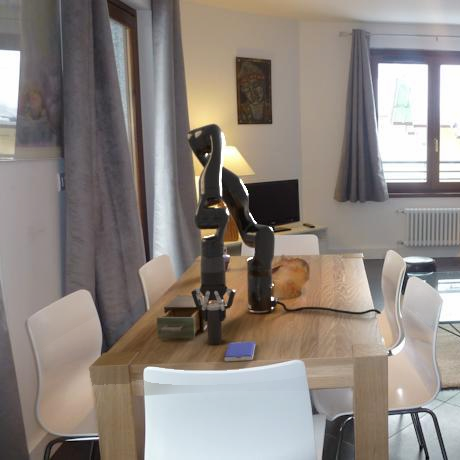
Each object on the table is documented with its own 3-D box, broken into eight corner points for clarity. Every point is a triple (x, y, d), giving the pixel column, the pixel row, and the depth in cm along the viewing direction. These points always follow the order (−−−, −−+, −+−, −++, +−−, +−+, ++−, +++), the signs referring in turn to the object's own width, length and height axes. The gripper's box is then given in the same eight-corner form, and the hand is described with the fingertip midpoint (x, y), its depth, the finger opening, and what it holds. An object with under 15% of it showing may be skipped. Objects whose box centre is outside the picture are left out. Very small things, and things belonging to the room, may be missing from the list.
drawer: (190, 343, 200) (189, 322, 199) (152, 343, 199) (151, 322, 198) (205, 325, 218) (204, 306, 217) (171, 325, 217) (170, 306, 216)
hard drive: (228, 342, 200) (224, 356, 188) (255, 341, 202) (252, 355, 190) (228, 347, 200) (224, 361, 188) (255, 346, 202) (252, 360, 190)
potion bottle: (234, 268, 307) (233, 244, 305) (227, 272, 298) (226, 248, 296) (217, 268, 308) (216, 244, 306) (209, 272, 299) (208, 247, 297)
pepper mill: (223, 340, 207) (222, 303, 204) (220, 344, 202) (219, 307, 200) (210, 340, 206) (208, 303, 204) (206, 344, 202) (205, 307, 200)
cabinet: (203, 332, 214) (202, 307, 213) (165, 332, 213) (164, 307, 212) (214, 318, 229) (213, 295, 227) (178, 318, 228) (177, 295, 226)
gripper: (186, 271, 196) (188, 324, 199) (233, 272, 197) (234, 324, 200) (193, 266, 203) (195, 317, 206) (238, 266, 204) (239, 317, 207)
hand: (214, 320), depth 203 cm, fingers closed on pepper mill, 4 cm apart
